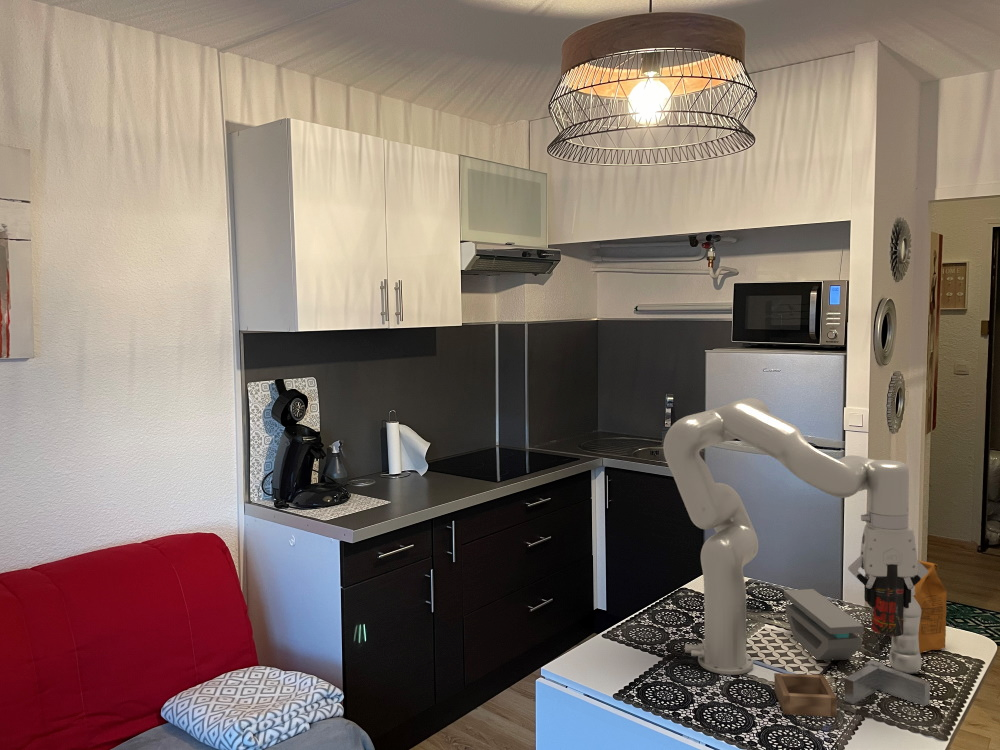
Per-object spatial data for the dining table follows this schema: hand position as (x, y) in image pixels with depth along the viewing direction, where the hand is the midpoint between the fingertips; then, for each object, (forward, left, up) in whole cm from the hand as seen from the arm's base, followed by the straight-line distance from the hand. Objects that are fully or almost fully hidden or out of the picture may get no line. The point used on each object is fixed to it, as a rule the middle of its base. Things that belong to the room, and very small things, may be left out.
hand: (887, 604), depth 165 cm
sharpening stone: (-7, +27, -22) cm, 35 cm away
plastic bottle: (+9, +17, -22) cm, 29 cm away
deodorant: (0, 0, -6) cm, 6 cm away
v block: (0, +5, -22) cm, 22 cm away
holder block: (-17, -1, -22) cm, 27 cm away
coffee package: (+17, +33, -22) cm, 43 cm away
